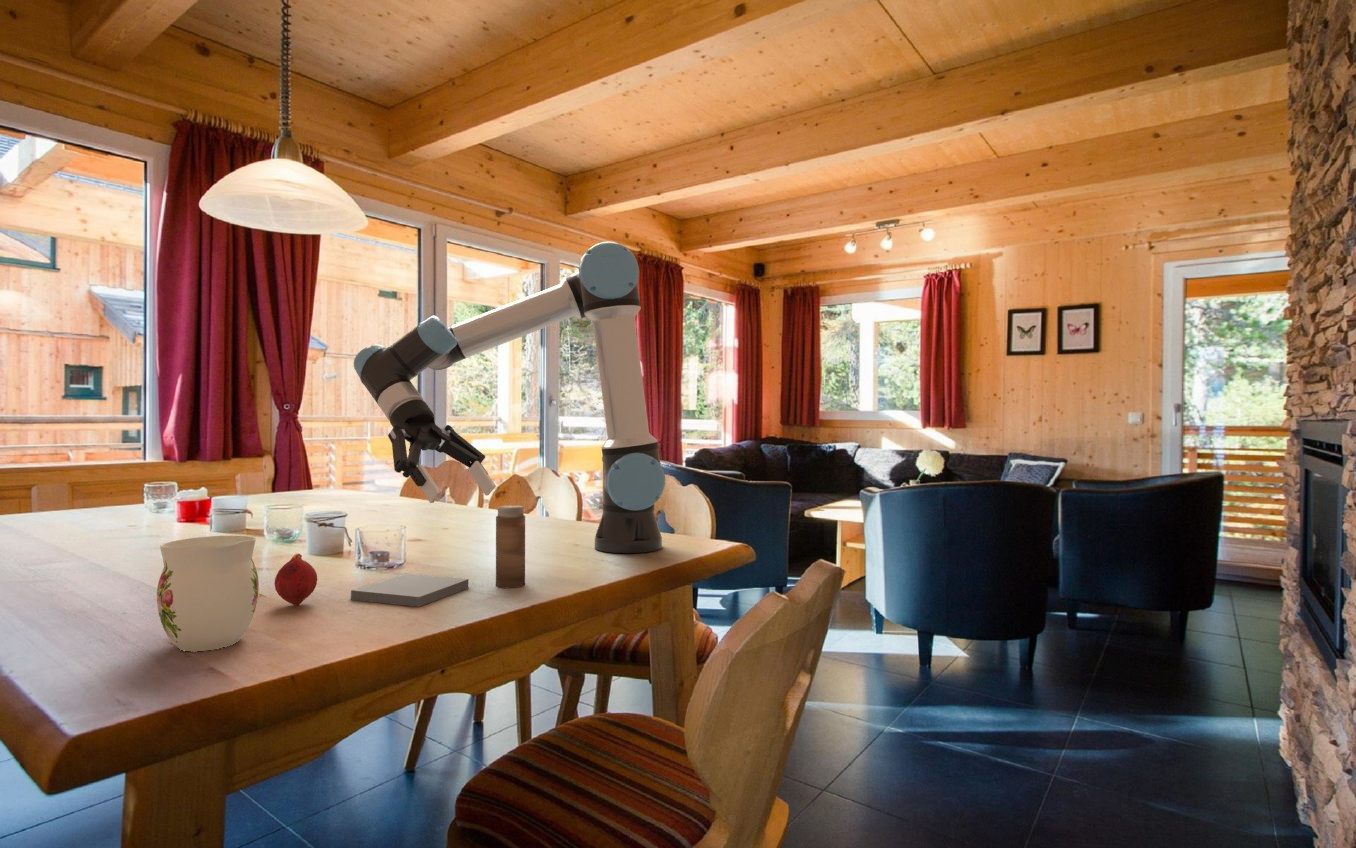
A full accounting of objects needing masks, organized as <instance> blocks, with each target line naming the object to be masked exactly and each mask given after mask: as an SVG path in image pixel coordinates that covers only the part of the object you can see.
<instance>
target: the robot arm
mask: <svg viewBox="0 0 1356 848" xmlns="http://www.w3.org/2000/svg"><path fill="white" fill-rule="evenodd" d="M578 266H579V267H578V271H576V272H573V273H572V274H570V275H568V276H565V277H563V278H562V279H561V282H560V283H559V284H557V285H554V286H552V287H549V288H547V289H544V290H542V291H540V292H536V293H534V294H531V295H529V296H526V297H523V298H521V299H519V300H516V301H513V302H510V303H508V304H504V305H503V306H500V307H498V308H495V309H492V310H489V311H486V312H484V313H482V314H480V315H476V316H474V317H471V318H467V319H466V320H464V321H461V322H458V323H455V324H453V325H451V326H449V327H448V326H447V325H446V324H445V322H443V320H442V319H441V318H440V317H439V316H438V315H431V316H430V317H428V318H426V319H425V320H424V321H421V322H418V324H417V326H415V327H413V328H412V329H411V330H410V331H408V332H407V333H406V334H405V335H403V336H402V337H401V338H399V339H398V340H397V341H395V342H394V343H392V345H389V346H387V347H386V346H385V345H382V344H371V346H370V347H369V346H368V347H364V348H362V349H361V350H360V351H359V352H358V353H357V354H356V355H355V357H354V359H353V367H354V371H355V372H356V374H357V376H358V377H359V379H360V382H361V384H362V385H363V386H364V387H365V389H366V390H367V391H368V392H369V394H370V395H371V396H372V398H373V399H374V401H375V403H376V404H377V406H378V407H379V408H380V409H381V411H382V412H383V414H384V415H385V417H386V418H387V421H389V423H390V425H391V426H392V429H391V431H390V432H389V433H388V434H387V436H388V439H389V441H390V443H391V449H392V456H393V457H392V459H393V469H394V471H395V472H396V473H402V476H403V477H404V478H409V477H410V478H411V479H412V481H413V483H414V484H415V485H416V486H417V487H418V488H419V489H420V490H421V491H422V494H424V496H425V497H426V499H427V500H428V503H430V504H432V503H433V504H434V503H435V501H437V499H438V498H439V496H440V495H442V491H441V490H440V488H439V486H438V485H437V484H436V482H435V480H434V479H433V478H432V476H431V475H430V474H429V472H428V470H427V469H426V468H425V466H424V464H419V460H420V456H421V453H422V452H421V451H423V452H424V451H427V450H430V451H436V452H438V453H439V454H440V453H444V454H446V455H447V456H449V457H450V458H452V459H454V461H455V460H456V461H457V462H458V463H460V464H462V465H464V466H465V467H467V468H468V470H467V471H468V473H469V474H470V476H471V477H472V478H473V480H474V481H475V483H476V485H477V486H478V488H480V490H481V491H482V493H483V494H484V496H485V497H487V496H489V495H490V494H491V493H492V492H493V490H494V489H495V488H496V487H497V485H496V484H495V483H494V481H493V480H492V478H491V477H490V476H489V473H488V471H487V469H485V467H484V465H483V464H482V463H483V461H484V460H485V459H486V455H485V454H484V453H482V452H481V451H480V450H478V449H477V448H476V447H475V446H473V445H472V444H471V443H470V442H469V441H467V439H465V438H463V436H461V435H460V434H459V433H458V432H456V430H455V429H454V428H453V427H452V425H449V424H446V425H445V426H444V427H443V428H441V427H439V426H438V425H437V423H435V414H434V412H433V411H432V409H431V408H430V406H429V405H428V404H427V402H425V400H424V398H423V396H422V395H421V394H420V392H419V391H418V389H417V388H416V387H415V385H414V384H413V382H411V380H412V379H414V378H416V377H417V376H418V375H420V374H421V373H423V372H424V371H425V370H426V369H432V370H436V371H442V370H445V369H448V368H450V367H451V366H453V365H454V364H455V363H458V362H461V361H463V360H465V359H468V358H470V357H473V356H475V355H477V354H480V353H482V352H486V351H488V350H490V349H493V348H495V347H496V348H497V347H498V346H501V345H504V344H507V343H508V342H511V341H514V340H516V339H519V338H521V337H524V336H527V335H529V334H532V333H535V332H537V331H540V330H543V329H545V328H548V327H550V326H552V325H555V324H558V323H561V322H563V321H566V320H568V319H571V318H576V319H579V320H580V319H584V318H588V319H589V320H590V321H591V322H592V325H593V333H594V339H595V340H594V341H595V348H596V356H597V364H598V371H599V372H598V373H599V380H600V381H599V382H600V388H601V389H600V390H601V395H602V396H601V397H602V404H603V411H604V419H605V428H606V434H607V439H606V441H605V442H604V443H603V444H602V446H601V454H602V455H601V456H602V457H601V461H602V515H601V517H600V521H599V523H598V527H597V530H596V532H595V536H594V549H595V550H597V551H601V552H604V553H605V552H606V553H613V554H638V553H649V552H654V551H658V550H661V549H662V548H663V538H662V537H663V536H662V534H661V531H660V528H659V525H658V521H657V518H656V515H655V514H656V513H655V504H656V503H657V502H658V501H659V499H660V498H661V496H662V495H663V493H664V491H665V487H666V486H665V485H666V475H665V471H664V468H663V466H662V465H661V456H660V452H659V451H660V449H659V442H658V439H656V437H654V436H653V435H652V434H651V433H650V429H649V421H648V420H649V419H648V414H647V405H646V399H645V398H646V397H645V391H644V390H645V389H644V382H643V374H642V367H641V358H640V352H639V351H640V350H639V343H638V342H639V341H638V336H637V335H638V333H637V327H636V319H635V318H636V316H637V314H638V313H639V312H640V311H641V309H642V308H641V300H640V291H639V281H638V280H639V278H640V268H639V264H638V261H637V258H636V256H635V255H634V253H633V252H632V251H631V250H630V249H629V248H627V247H626V246H625V245H622V244H620V243H618V242H616V241H615V242H614V241H602V242H600V243H596V244H594V245H593V246H591V247H590V248H588V249H587V251H585V253H584V254H583V256H582V257H581V259H580V262H579V264H578ZM442 441H443V443H442ZM406 442H408V443H409V448H408V453H407V446H406Z"/></svg>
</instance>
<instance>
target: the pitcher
mask: <svg viewBox="0 0 1356 848" xmlns="http://www.w3.org/2000/svg"><path fill="white" fill-rule="evenodd" d="M256 540H257V539H256V537H254V536H248V535H214V536H212V535H211V536H201V537H199V536H198V537H190V538H185V539H184V538H183V539H177V540H172V541H168V542H165V543H162V544H161V545H160V546H159V548H160V549H159V550H160V553H161V556H162V561H163V568H162V570H161V571H162V572H161V574H160V577H159V580H158V583H157V588H156V589H157V590H156V603H157V611H158V616H159V620H160V623H161V625H162V627H163V630H164V632H165V633H166V636H167V637H168V639H169V640H170V642H171V643H172V644H173V645H174V646H175V647H177V649H178V648H179V649H180V650H179V649H178V650H179V651H181V650H185V651H191V652H190V653H198V652H197V651H204V652H206V651H205V650H211V651H215V650H214V649H217V650H219V649H218V648H221V647H225V648H227V647H226V646H228V647H230V646H229V645H231V646H233V644H234V645H235V643H236V642H237V643H239V642H240V639H241V638H242V637H243V636H244V634H245V633H246V632H247V630H248V628H249V627H250V625H251V622H252V620H253V617H254V614H255V611H256V607H257V604H258V596H259V591H260V590H259V586H260V585H259V583H260V582H259V575H258V571H257V568H256V566H255V565H256V564H255V562H254V560H253V553H254V550H255V544H256ZM238 641H239V642H238ZM237 643H236V644H237ZM221 649H222V648H221ZM185 651H184V652H185ZM192 651H193V652H192ZM195 651H196V652H195Z"/></svg>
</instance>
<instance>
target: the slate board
mask: <svg viewBox="0 0 1356 848" xmlns="http://www.w3.org/2000/svg"><path fill="white" fill-rule="evenodd" d="M466 589H469V579H468V578H459V577H448V576H438V575H437V576H436V575H425V574H417V573H416V574H414V573H403V574H400V575H397V576H393V577H389V578H387V579H386V578H385V579H383V580H380V581H376V582H372V583H370V584H367V585H364V586H361V587H356V588H354V589H351V590H350V600H351V601H361V602H369V603H370V602H371V603H380V604H381V603H382V604H387V605H388V604H390V605H398V606H409V607H418V608H420V607H422V606H425V605H427V604H430V603H432V602H433V603H434V602H435V601H437V600H440V599H443V598H446V597H448V596H451V595H454V594H456V593H459V592H462V591H464V590H466Z"/></svg>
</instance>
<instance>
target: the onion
mask: <svg viewBox="0 0 1356 848" xmlns="http://www.w3.org/2000/svg"><path fill="white" fill-rule="evenodd" d="M302 556H303V555H302V554H301V553H295V554H293V556H292V557H291V558H290V559H289V561H286V563H284V564H283V565H282V567H280V569H279V570H278V571H277V573H276V576H275V578H274V582H273V583H274V589H275V591H276V593H277V595H278V596H279V597H280V598H282V600H284V601H285V602H286V603H289V604H291V605H293V606H299V605H300V604H302V603H303V602H304V601H305V600H306V599H307V598H308V597H309V596H310V595H312V594H313V592H314V591H315V589H316V587H317V584H318V574H317V572H316V571H317V570H315V568H314V567H313V566H312V565H311V563H309V562H307V561H306V560H303V559H302V558H303V557H302Z"/></svg>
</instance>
